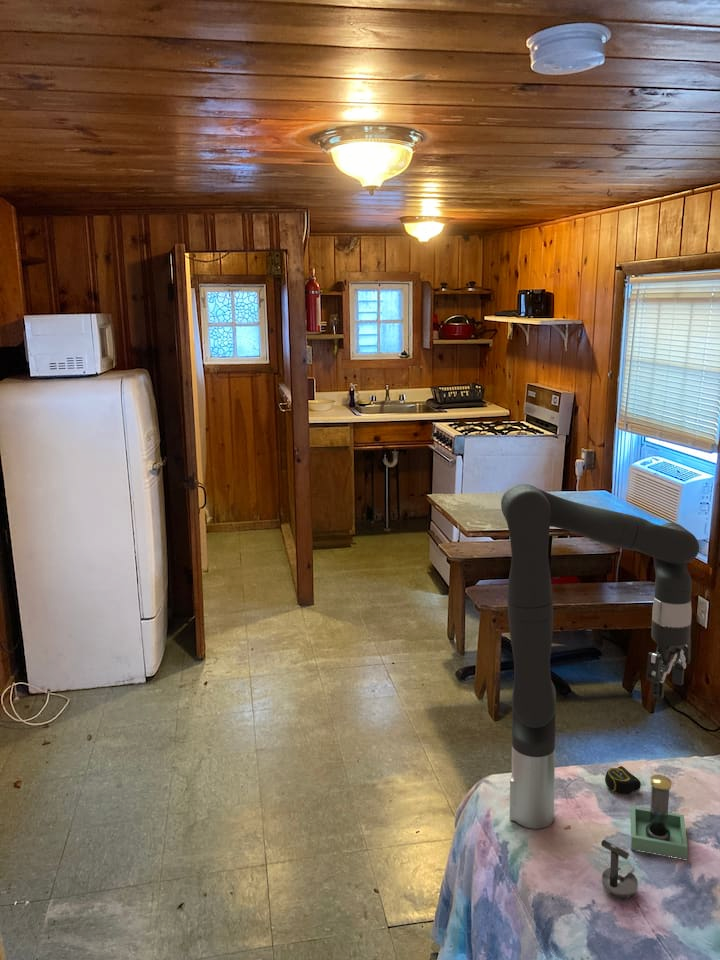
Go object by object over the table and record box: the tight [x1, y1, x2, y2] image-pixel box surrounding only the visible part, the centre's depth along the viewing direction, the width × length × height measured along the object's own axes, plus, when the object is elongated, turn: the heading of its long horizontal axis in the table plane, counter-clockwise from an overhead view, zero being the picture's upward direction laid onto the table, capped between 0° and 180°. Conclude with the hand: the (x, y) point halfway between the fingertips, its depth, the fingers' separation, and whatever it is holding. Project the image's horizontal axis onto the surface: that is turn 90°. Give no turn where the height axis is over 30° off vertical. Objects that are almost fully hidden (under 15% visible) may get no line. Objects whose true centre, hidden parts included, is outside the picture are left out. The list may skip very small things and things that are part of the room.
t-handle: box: [600, 839, 639, 900], centre depth 141 cm, size 7×6×11 cm
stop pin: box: [646, 774, 672, 841], centre depth 155 cm, size 5×5×13 cm
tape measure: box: [604, 765, 642, 795], centre depth 173 cm, size 7×7×4 cm
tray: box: [630, 806, 688, 860], centre depth 156 cm, size 11×11×3 cm
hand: (667, 690), depth 157 cm, fingers open, 8 cm apart
